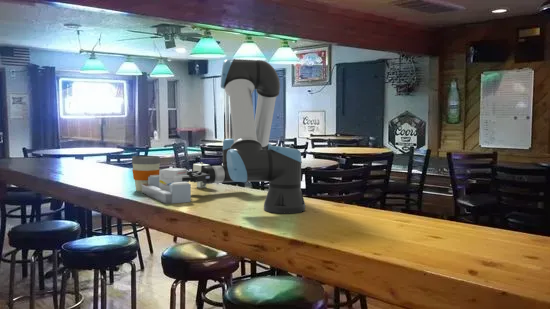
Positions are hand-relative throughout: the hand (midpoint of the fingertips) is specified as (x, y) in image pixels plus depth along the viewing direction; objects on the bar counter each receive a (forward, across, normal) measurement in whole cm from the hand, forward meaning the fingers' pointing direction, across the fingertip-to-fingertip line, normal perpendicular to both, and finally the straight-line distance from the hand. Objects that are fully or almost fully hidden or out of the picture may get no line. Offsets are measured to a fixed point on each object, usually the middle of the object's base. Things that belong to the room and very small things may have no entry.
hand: (166, 177), depth 209 cm
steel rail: (+5, +1, -8) cm, 9 cm away
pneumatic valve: (-26, +18, -8) cm, 33 cm away
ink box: (-3, 0, -8) cm, 9 cm away
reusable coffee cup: (-1, +23, -8) cm, 25 cm away
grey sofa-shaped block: (-1, 0, -8) cm, 8 cm away
